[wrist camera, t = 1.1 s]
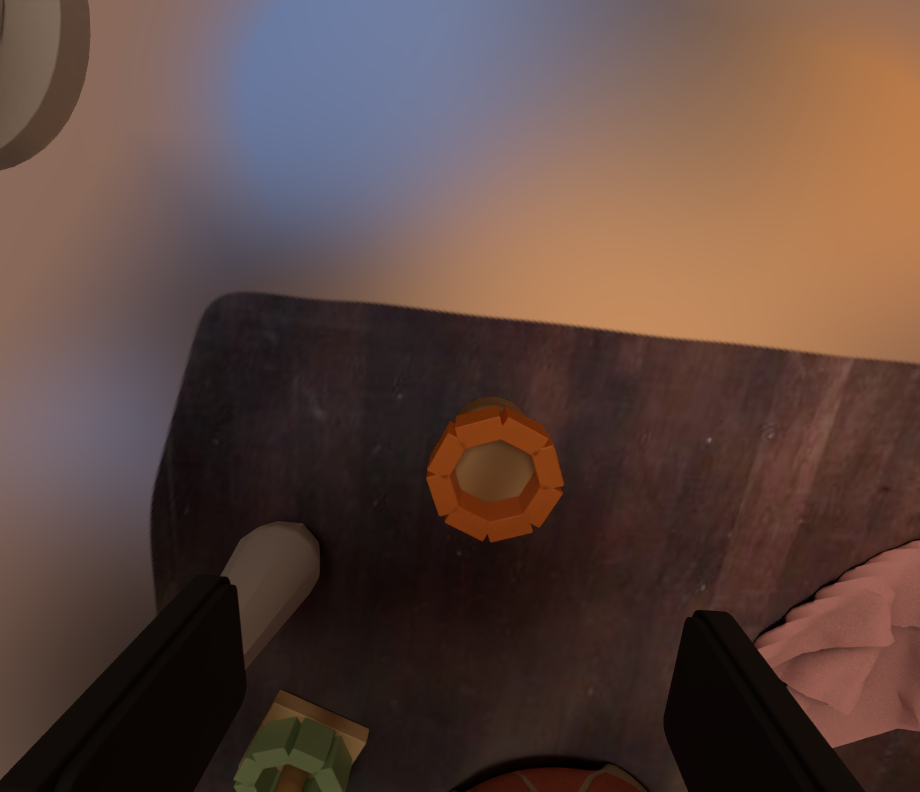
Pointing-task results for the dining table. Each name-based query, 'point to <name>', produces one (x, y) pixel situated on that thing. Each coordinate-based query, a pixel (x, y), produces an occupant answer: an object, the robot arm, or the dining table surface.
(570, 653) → the dining table surface
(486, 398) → the stand
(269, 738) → the bottom ring
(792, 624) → the cloth
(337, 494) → the dining table surface
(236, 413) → the dining table surface
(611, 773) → the planter
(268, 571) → the salt shaker
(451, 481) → the top ring
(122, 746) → the robot arm
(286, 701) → the post
